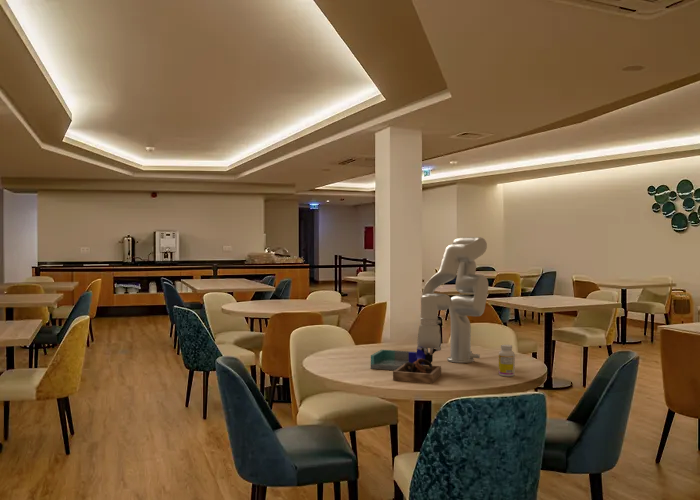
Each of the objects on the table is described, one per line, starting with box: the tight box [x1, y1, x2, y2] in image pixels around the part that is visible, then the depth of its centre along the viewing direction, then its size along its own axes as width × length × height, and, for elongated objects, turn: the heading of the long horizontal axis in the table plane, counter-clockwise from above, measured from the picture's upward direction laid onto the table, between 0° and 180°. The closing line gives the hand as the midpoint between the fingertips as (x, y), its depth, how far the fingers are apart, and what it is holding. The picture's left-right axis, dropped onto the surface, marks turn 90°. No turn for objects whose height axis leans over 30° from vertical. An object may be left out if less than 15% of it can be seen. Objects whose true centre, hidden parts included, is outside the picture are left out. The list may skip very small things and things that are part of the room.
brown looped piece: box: [404, 359, 434, 374], centre depth 260 cm, size 12×10×8 cm
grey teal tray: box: [370, 349, 430, 371], centre depth 279 cm, size 24×17×6 cm
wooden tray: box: [392, 364, 442, 384], centre depth 257 cm, size 16×18×4 cm
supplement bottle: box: [498, 344, 516, 378], centre depth 262 cm, size 7×7×13 cm
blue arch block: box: [409, 348, 424, 363], centre depth 276 cm, size 12×4×6 cm, turn 153°
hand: (428, 363), depth 274 cm, fingers closed
